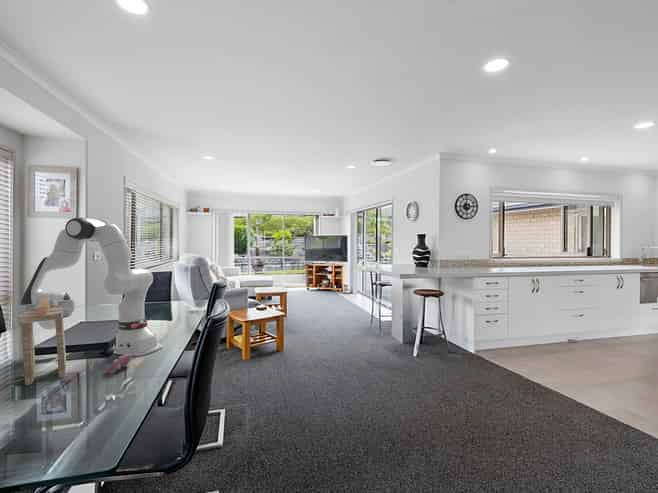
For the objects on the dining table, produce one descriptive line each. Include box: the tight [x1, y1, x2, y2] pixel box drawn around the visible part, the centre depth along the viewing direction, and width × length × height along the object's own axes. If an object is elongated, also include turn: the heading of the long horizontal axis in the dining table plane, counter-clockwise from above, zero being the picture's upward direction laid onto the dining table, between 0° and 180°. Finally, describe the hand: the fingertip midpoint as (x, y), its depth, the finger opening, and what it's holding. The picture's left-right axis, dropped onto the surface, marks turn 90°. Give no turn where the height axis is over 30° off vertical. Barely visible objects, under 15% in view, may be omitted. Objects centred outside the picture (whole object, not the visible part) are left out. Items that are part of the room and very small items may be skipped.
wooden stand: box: [19, 306, 67, 386], centre depth 135 cm, size 16×12×26 cm
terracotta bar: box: [36, 298, 50, 315], centre depth 139 cm, size 22×3×3 cm, turn 37°
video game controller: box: [105, 354, 134, 374], centre depth 140 cm, size 10×5×7 cm, turn 169°
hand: (45, 302), depth 145 cm, fingers closed on terracotta bar, 3 cm apart
